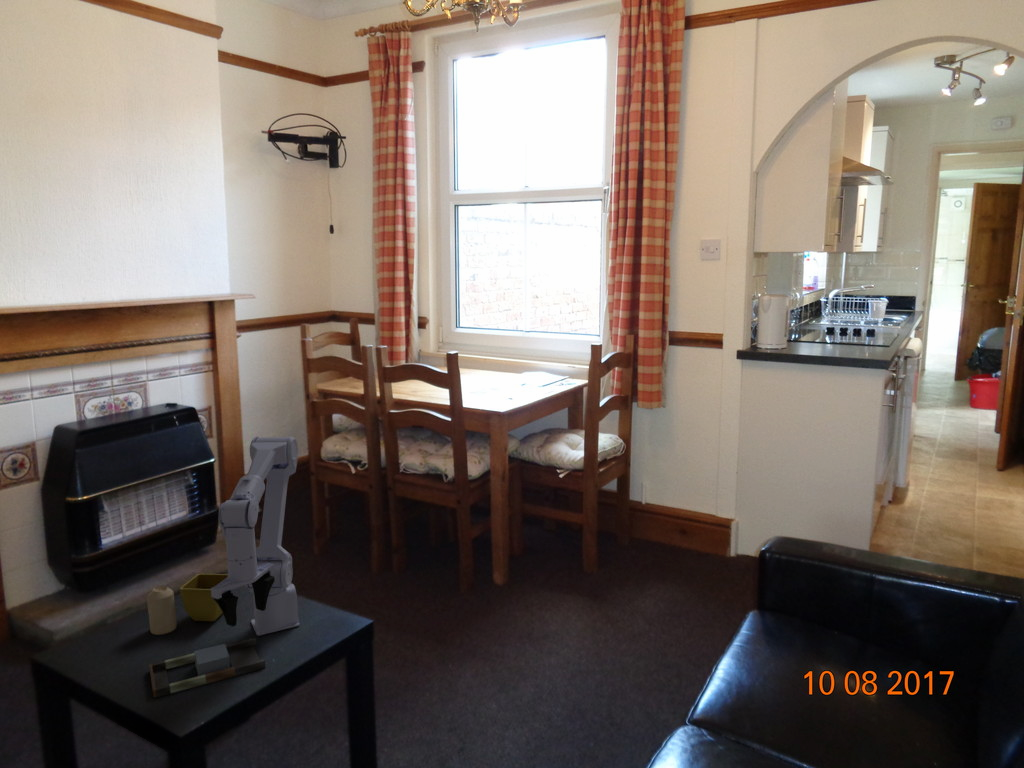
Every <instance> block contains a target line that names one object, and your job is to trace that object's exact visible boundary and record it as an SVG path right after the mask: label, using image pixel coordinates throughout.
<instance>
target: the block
mask: <svg viewBox="0 0 1024 768" xmlns="http://www.w3.org/2000/svg"><path fill="white" fill-rule="evenodd" d="M225 645H226V644H225V643H221V644H217V645H214V646H209V647H205V648H201V649H198V650H194V651H193V653H194V654H195V662H194V663H195V668H196V672H197V676H201V675H205V674H209V673H212V672H216V671H220V670H224V669H227V668H231V663H230V659H229V654H228V651H227V649H226V646H225Z"/></svg>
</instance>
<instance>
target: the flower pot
mask: <svg viewBox="0 0 1024 768" xmlns="http://www.w3.org/2000/svg"><path fill="white" fill-rule="evenodd" d="M227 574H228V573H226V574H224V573H223V574H221V573H218V574H217V573H198V574H196V575H195V576H193V577H192V578H191V579H190V580H188V581H187V582H186V583H184V584H183V585H181V586H180V588H179V592H180V596H181V600H182V604H183V607H184V610H185V611H186V614H187V615H189V618H191V619H192V620H193V621H197V622H215V621H216V620H217V619H218V618H219V617H220V616H222V615H224V614H223V612H222V610H221V608H220V607H219V605H218V604H217V603H216V601H215V600H214V599H213V597H211V588H213V587H215V586H216V585H218V584H219V583H220V582H222V581H223V580H224V579H226V578H227V577H228V575H227Z"/></svg>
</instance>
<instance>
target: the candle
mask: <svg viewBox="0 0 1024 768" xmlns="http://www.w3.org/2000/svg"><path fill="white" fill-rule="evenodd" d="M174 592H175V591H173V589H171V588H169V587H168V586H167V585H160V586H158V587H153V588H152V590H151V591H150V592H149V593H148V594H147V595H146V601H147V611H148V619H149V631H150V633H151V634H152V635H156V636H157V635H160V636H161V635H165V634H168V633H172V632H173V631H175V630H176V629H177V627H178V626H177V615H176V614H177V613H176V606H175V603H176V602H175V594H174Z"/></svg>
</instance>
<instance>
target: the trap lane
mask: <svg viewBox="0 0 1024 768" xmlns="http://www.w3.org/2000/svg"><path fill="white" fill-rule="evenodd" d="M225 646H226V649H227V651H228V654H229V659H230V668H227V669H224V670H220V671H216V672H212V673H209V674H205V675H201V676H198V675H197V676H194V677H191V678H186V679H183V680H179V681H175V682H172V683H170V682H169V676H168V673H167V672H168V671H167V670H168V669H169V670H170V669H172V668H173V669H174V668H176V667H179V666H180V667H181V666H185V665H188V664H192V663H195V654H194V652H193V653H188V654H186V655H185V654H184V655H181V656H177V657H174V658H173V657H172V658H170V659H169V658H168V659H165V660H161V661H158V662H154V663H149V664H148V667H149V674H150V681H151V688H152V693H153V694H152V695H153V698H154V699H155V698H158V697H162V696H166V695H170V694H173V693H177V692H178V693H179V692H181V691H184V690H188V689H191V688H196V687H199V686H203V685H206V684H210V683H213V682H217V681H221V680H224V679H228V678H233V677H236V676H239V675H243V674H247V673H251V672H255V671H259V670H262V669H266V661H265V658H262V659H260V658H259V655H258V653H257V650H256V649H255V647H257V642H256V637H252V638H248V639H244V640H241V641H237V642H233V643H229V644H225Z"/></svg>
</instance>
